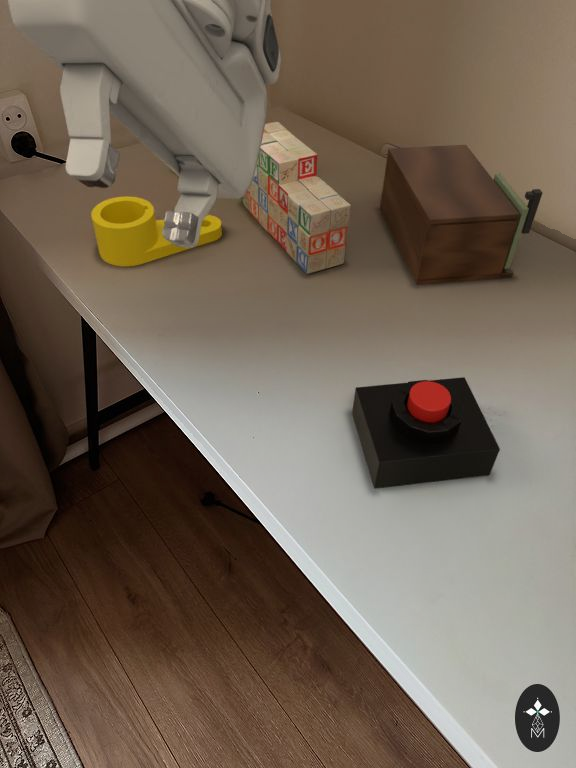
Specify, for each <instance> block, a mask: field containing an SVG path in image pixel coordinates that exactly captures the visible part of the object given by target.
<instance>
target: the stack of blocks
mask: <svg viewBox="0 0 576 768" xmlns="http://www.w3.org/2000/svg"><path fill="white" fill-rule="evenodd" d="M317 172H318V154H317V153H316V152H315V151H314V150H312V149H311V148H310V147H309V146H308V145H306V144H305V143H304V142H302V141H301V140H300V139H299V138H297V137H296V136H295V135H294V134H292V132H290V130H288V129H287V128H286V127H285V126H284V125H283V124H281V123H280V122H278V121H274V122H268V123H265V127H264V132H263V137H262V143H261V147H260V152H259V157H258V161H257V165H256V170H255V174H254V178H253V181H252V184H251V186H250V187H249V189H248V190H247V192H246V193H245V195H244V196H243V197H242V204H243V206H244V207H245V208H246V209H247V210H248V212H249V213H250V214H251V215H252V217H253V218H254V219H255V220H256V221H257V222H258V223H259V224H260V225H261V227H262V228H263V229H264V230H265V231H266V232H268V233H269V234H270V235H271V237H273V239H274V240H275V241H276V242H277V243H278V244H279V245H280V246H281V247H282V248H283V250H285V252H286V253H287V254H288V256H289V257H290V258H291V259H292V260H293V261H294V262H295V263H296V264H297V266H299V267H300V269H301V270H302V271H303V272H304V273H305V274H307V275H309V274H312V273H315V272H316V273H317V272H319V271H322V270H325V269H329V268H333V267H337V266H339V265H342V264H344V263H345V255H346V254H345V253H346V245H347V238H348V227H349V224H350V217H351V216H350V215H351V204H350V203H349V202H348V201H346V200H345V198H344V197H342V196H341V195H340V194H339V193H338V192H337V191H336V190H335V189H334V188H332V187H331V186H329V184H328V183H327V182H325V181H324V179H322V178H320V177H319V176H317V174H318V173H317Z"/></svg>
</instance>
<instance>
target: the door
mask: <svg viewBox="0 0 576 768" xmlns="http://www.w3.org/2000/svg"><path fill="white" fill-rule="evenodd" d="M493 180H494V181H495V183H496V184H497V185H498V186H499V188H500V189H501V190H502V192H503V193H504V194H505V195H506V197H507V198H508V199H509V201H510V202H511V203H512V204H513V206H514V207H515V208H516V210H517V211H518V212H519V213H520V216H519V219H518V222H517V225H516V229H515V232H514V235H513V238H512V241H511V245H510V248H509V251H508V254H507V257H506V260H505V264H504V269H509V268H511V266H512V262H513V260H514V256H515V253H516V251H517V247H518V244H519V241H520V238H521V235H525V234H526V235H528V234H530V232H531V229H532V226H533V223H534V220H535V217H536V214H537V212H538V208H539V206H540V203H541V199H542V196H543V193H544V192H543V191H542V190H541V189H540V188H533V189H532V190H531V191H529V190H528V191H526V192H525V194H524V198H525V200H528V202H527V204H526V203H525V202H524V201H523V199H522V198H521V197H520V196H519V195H518V193H517V192H516V191H515V189H513V187H512V186H511V185H510V183H509V182H508V180H507V179H506V178H505V177H504V176H503V175H502V173H499V172H497V173H494V177H493Z"/></svg>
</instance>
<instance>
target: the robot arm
mask: <svg viewBox="0 0 576 768" xmlns="http://www.w3.org/2000/svg"><path fill="white" fill-rule="evenodd" d="M7 4H8V9H9V13H10V17H11V20H12V24H13V26H14V27H15V29H16V30H18V32H19V33H20V34H21V35H22V36H23V37H24V38H26V39H27V40H28V42H30V43H31V44H32V45H34V46H35V47H36V48H37V49H38V50H39V51H40V52H41V53H42V54H43V55H45V57H46V58H48V59H49V60H50V61H51V62H52V63H53V64H54V65H56V67H58V68H59V69H60V70H61V71H62V76H61V82H60V87H59V93H60V98H61V104H62V109H63V113H64V118H65V119H64V120H65V124H66V129H67V134H68V137H69V138H70V139H69V144H68V150H67V156H66V162H65V173H67V174H68V175H69V176H70V177H71V178H74V179H75V180H77V181H78V182H80V183H81V184H82V185H84V186H85V187H87V188H92V189H93V188H99V189H109V188H111V187H112V186H113V184H114V183H115V182H116V177H117V173H116V169H117V168H118V166H119V162H120V161H119V160H120V155H121V153H120V152H119V151H118V150H117V149H116V148H115V147H114V146H113V145H112V129H111V116H112V118H114V119H115V120H116V121H117V122H118V123H119V124H120V125H122V126H123V128H125V129H126V130H127V131H128V132H129V133H130V134H131V135H132V136H134V137H135V138H136V139H137V140H138V141H139V142H140V143H141V144H142V145H143V146H144V147H145V148H147V149H148V150H149V151H150V152H151V153H152V154H153V155H154V156H155V157H157V159H159V160H160V161H161V162H162V163H163V164H164V165H166V167H168V168H169V170H171V171H172V172H173V173H174V174H175V175H176V176H178V182H177V189H176V190H177V192H178V193H180V196H179V198H178V200H177V203H176V204H175V207H174V209H173V211H171V210H165V214H164V218H163V220H164V227H163V230H162V235H163V237H164V238H165V239H166V240H168V241H169V242H170V243H172V244H173V245H175V246H177V247H186V248H190V249H193V248H196V247H197V246H196V245H197V243H198V240H199V235H200V230H201V224H202V221H203V220H204V219H205V217H206V215H209V212H210V211H211V209H212V208H213V206H214V204H215V203H216V200H217V199H226V200H227V199H228V200H239V199H243V196H244V195H245V193H246V192H247V190H248V189H249V187H250V186H251V184H252V181H253V178H254V174H255V170H256V165H257V161H258V157H259V152H260V147H261V143H262V137H263V132H264V127H265V124H266V121H267V114H268V91H267V85H268V86H269V85H274V84H276V83H277V82H278V80H279V76H280V72H281V64H282V56H281V51H280V50H281V49H280V46H279V42H278V38H277V33H276V29H275V23H274V19H273V15H272V6H271V0H7ZM195 246H196V247H195Z"/></svg>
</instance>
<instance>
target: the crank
mask: <svg viewBox="0 0 576 768" xmlns="http://www.w3.org/2000/svg"><path fill="white" fill-rule="evenodd" d="M90 213H91V214H90V215H91V222H92V225H93V229H94V235H95V239H96V244H97V248H98V253H99V256H100V258H101V259H102V261H104V262H105V263H107V264H109V265H112V266H115V267H135V266H139V265H143V264H146V263H150V262H152V261H156V260H158V259H159V260H160V259H162V258H165V257H168V256H172V255H175V254H177V253H180V252H184V251H187V250H189V249H191V248H186V247H177V246H175V245H173V244H172V243H170V242H169V241H168V240H166V239H165V238H164V237H163V235H162V230H163V227H164V219H156V215H155V214H156V213H155V208H154V205H153V204H152V203H151V202H150V201H149V200H147V199H144V198H142V197H138V196H129V195H128V196H126V195H125V196H116V197H112V198H107V199H105V200H104V201H101V202H99V203H98V204H96V205H95V206H94V207H93V209H92V210H91V212H90ZM222 226H223V225H222V220H221V219H220V218H219V217H217V216H215V215H212V214H207V215H206V217H205V219H204V220H203V221H202V224H201V230H200V235H199V240H198V243H197V245H196V246H195V247H194V248H196V247H199V246H202V245H206V244H209V243H212V242H215V241H217V240H219V239H220V238H221V237H222V236H223V228H222Z"/></svg>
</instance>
